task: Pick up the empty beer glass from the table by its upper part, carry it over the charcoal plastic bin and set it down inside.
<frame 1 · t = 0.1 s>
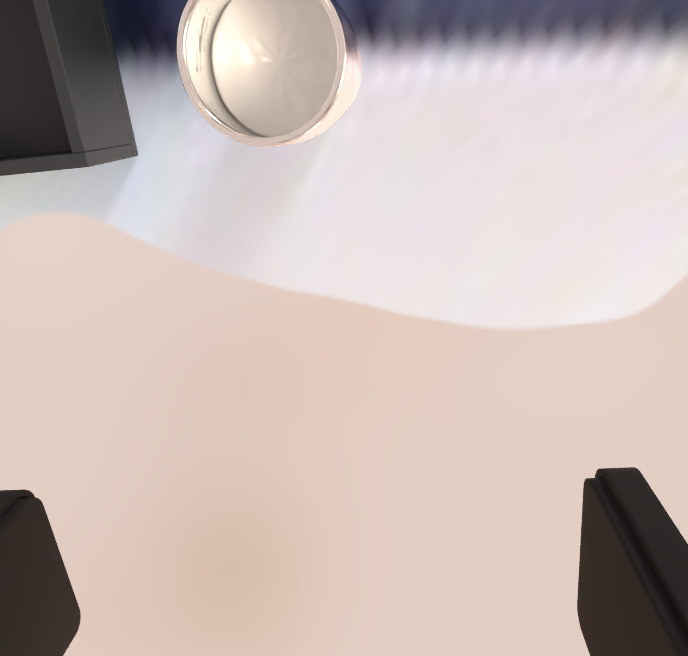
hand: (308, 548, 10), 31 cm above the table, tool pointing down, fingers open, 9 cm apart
beer glass: (313, 72, 36), on the table
bin: (12, 55, 37), on the table
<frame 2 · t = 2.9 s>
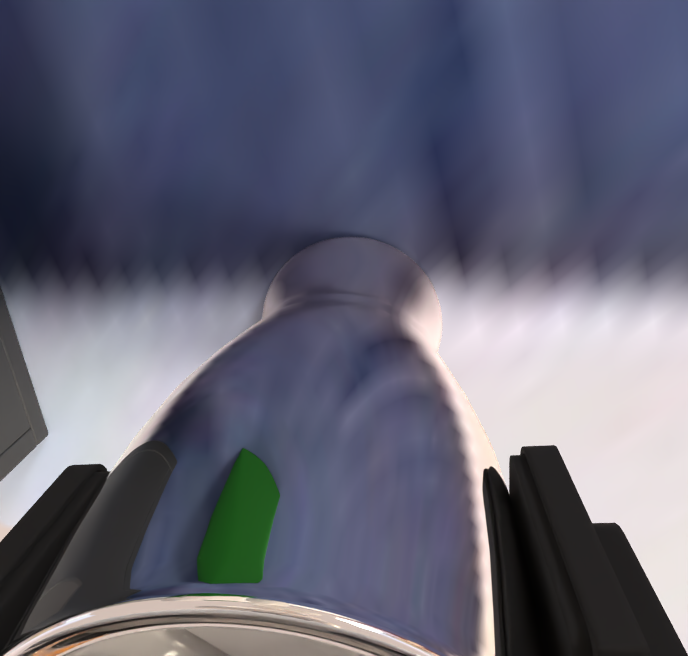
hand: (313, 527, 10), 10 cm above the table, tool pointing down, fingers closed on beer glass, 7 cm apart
beer glass: (352, 321, 20), on the table, touching gripper
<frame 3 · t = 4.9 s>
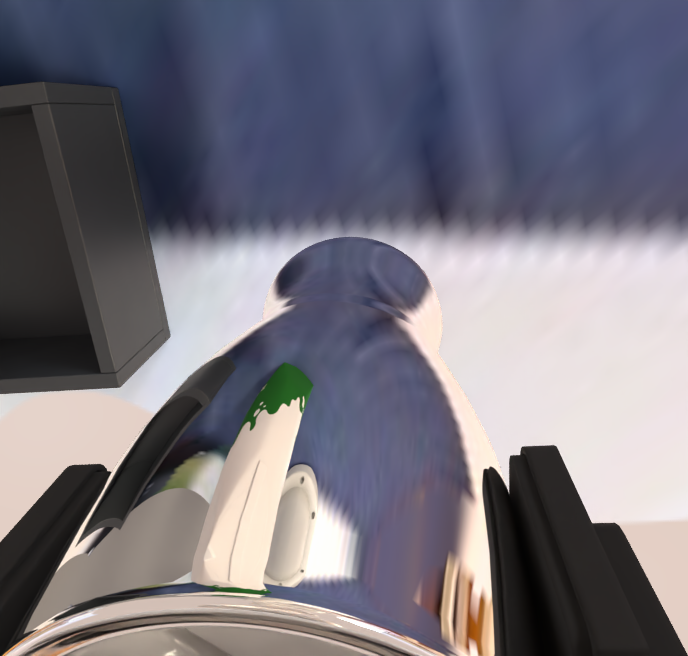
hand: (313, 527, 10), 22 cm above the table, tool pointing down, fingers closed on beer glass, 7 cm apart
beer glass: (352, 321, 20), point 12 cm above the table, touching gripper
bin: (30, 231, 33), on the table
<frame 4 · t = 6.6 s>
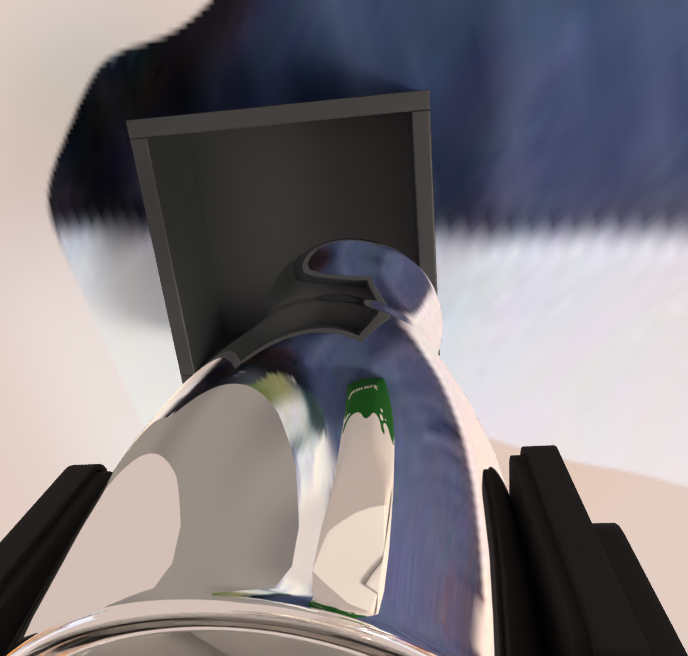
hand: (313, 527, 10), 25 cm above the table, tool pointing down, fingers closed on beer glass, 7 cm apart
beer glass: (352, 322, 20), point 15 cm above the table, touching gripper
bin: (311, 227, 34), on the table
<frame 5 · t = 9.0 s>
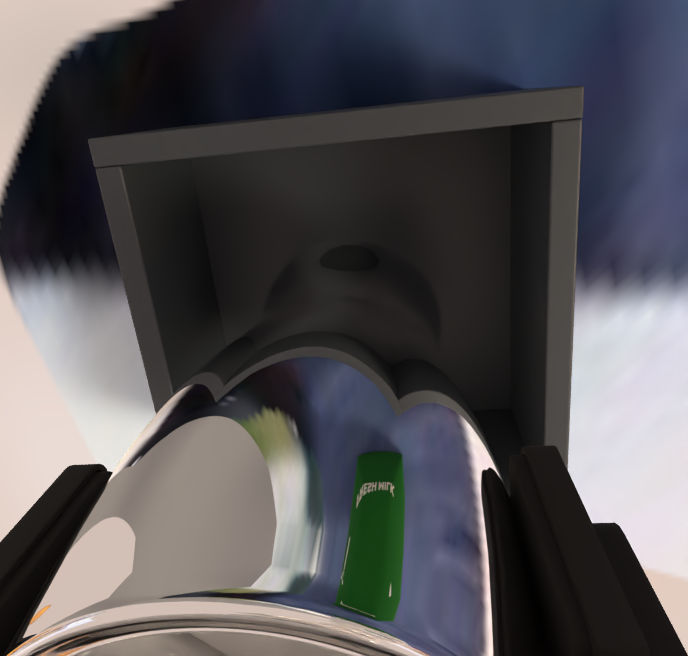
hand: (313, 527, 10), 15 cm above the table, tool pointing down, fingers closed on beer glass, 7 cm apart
beer glass: (352, 322, 20), point 5 cm above the table, touching gripper
bin: (360, 280, 24), on the table
when the fingers open (11 cm above the table, at t = 10.6 s): beer glass stays where it is, resting on bin.
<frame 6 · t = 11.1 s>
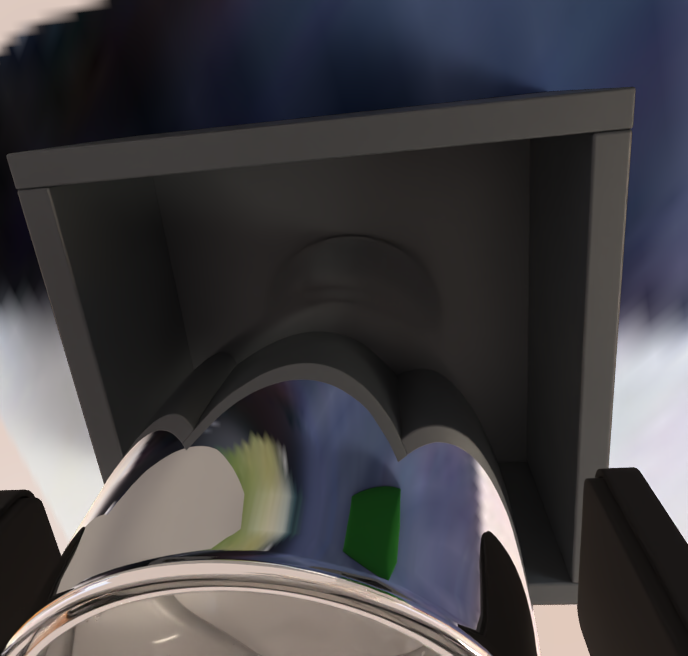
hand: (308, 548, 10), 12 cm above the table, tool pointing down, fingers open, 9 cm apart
beer glass: (353, 318, 21), point 1 cm above the table, touching bin
bin: (353, 313, 21), on the table
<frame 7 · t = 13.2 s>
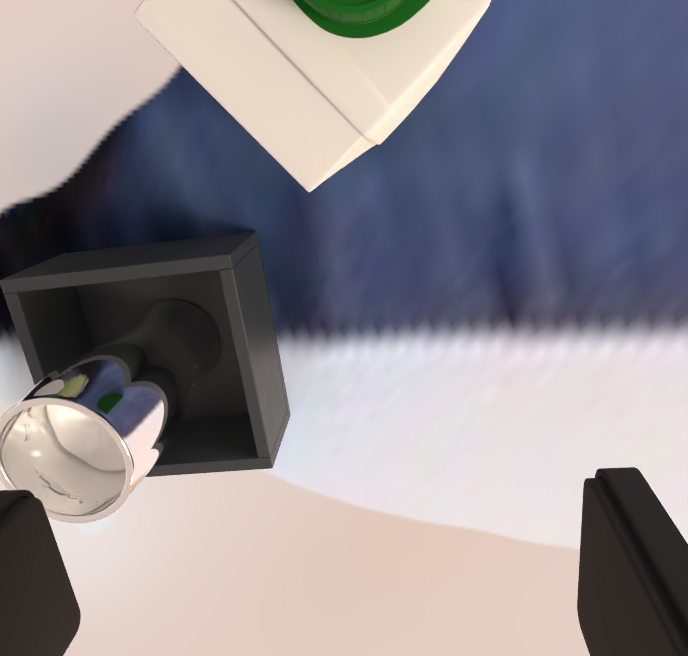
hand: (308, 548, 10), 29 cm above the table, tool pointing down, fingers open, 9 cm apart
beer glass: (177, 340, 40), point 1 cm above the table, touching bin
bin: (180, 337, 41), on the table
milk carton: (348, 60, 34), on the table
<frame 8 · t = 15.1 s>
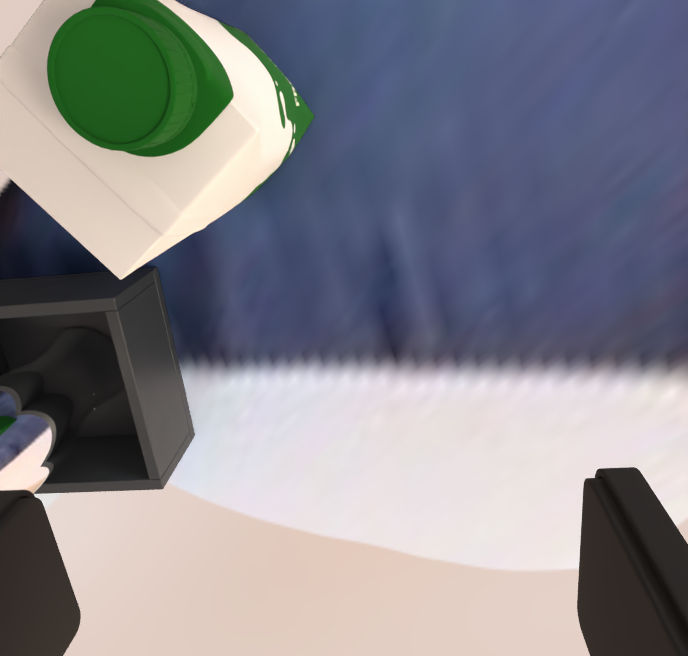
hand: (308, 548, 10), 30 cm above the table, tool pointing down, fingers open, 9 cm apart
beer glass: (87, 364, 43), point 1 cm above the table, touching bin
bin: (90, 361, 44), on the table
milk carton: (236, 115, 37), on the table
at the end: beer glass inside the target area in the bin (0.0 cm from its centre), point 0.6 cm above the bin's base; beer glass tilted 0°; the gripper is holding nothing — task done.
